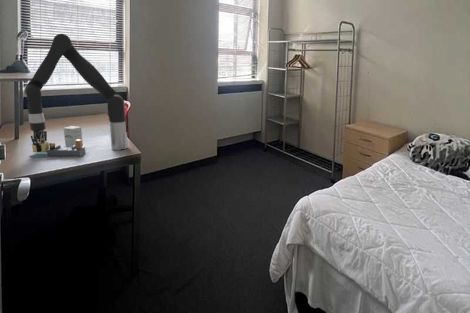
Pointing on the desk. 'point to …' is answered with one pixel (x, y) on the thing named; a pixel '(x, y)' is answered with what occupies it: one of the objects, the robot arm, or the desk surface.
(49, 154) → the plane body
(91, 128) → the desk surface
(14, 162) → the desk surface
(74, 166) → the desk surface
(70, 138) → the supplement box
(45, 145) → the tan rectangular block
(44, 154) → the mat
